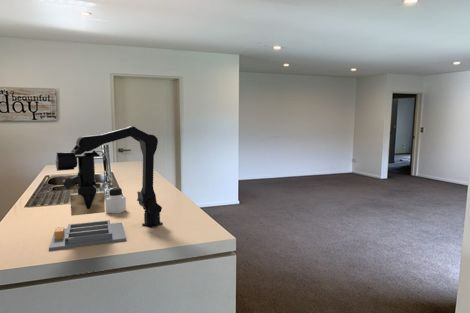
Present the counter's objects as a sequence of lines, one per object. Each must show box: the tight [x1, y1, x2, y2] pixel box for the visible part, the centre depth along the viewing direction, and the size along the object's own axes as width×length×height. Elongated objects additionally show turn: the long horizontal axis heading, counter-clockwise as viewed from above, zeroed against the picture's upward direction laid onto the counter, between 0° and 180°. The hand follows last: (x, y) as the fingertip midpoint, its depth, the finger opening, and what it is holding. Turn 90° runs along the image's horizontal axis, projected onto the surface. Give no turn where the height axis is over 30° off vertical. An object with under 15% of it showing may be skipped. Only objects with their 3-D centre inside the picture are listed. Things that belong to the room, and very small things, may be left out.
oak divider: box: [69, 190, 106, 216], centre depth 132 cm, size 12×3×8 cm, turn 113°
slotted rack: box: [48, 219, 127, 251], centre depth 133 cm, size 26×22×4 cm
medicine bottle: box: [104, 187, 127, 215], centre depth 169 cm, size 7×7×12 cm
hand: (88, 207), depth 132 cm, fingers closed on oak divider, 3 cm apart
